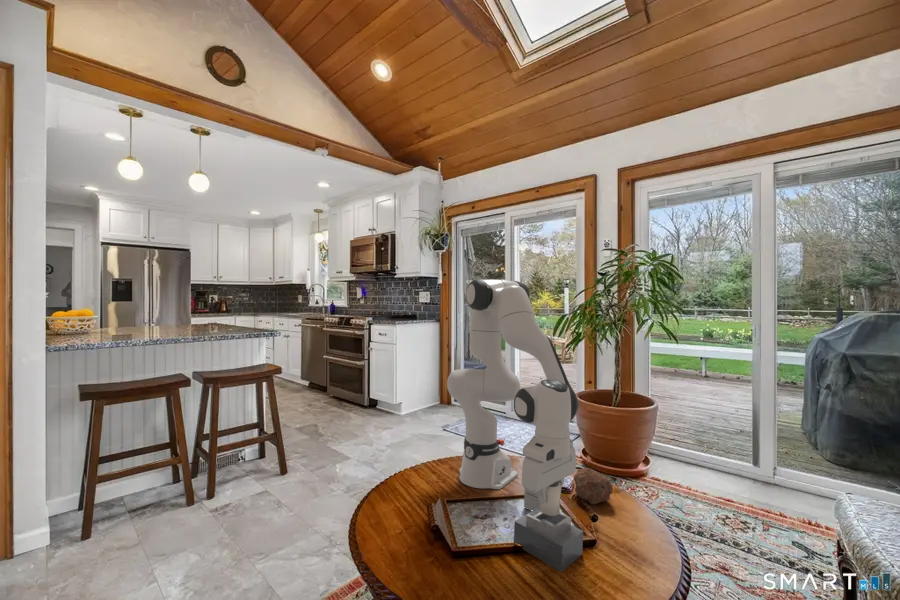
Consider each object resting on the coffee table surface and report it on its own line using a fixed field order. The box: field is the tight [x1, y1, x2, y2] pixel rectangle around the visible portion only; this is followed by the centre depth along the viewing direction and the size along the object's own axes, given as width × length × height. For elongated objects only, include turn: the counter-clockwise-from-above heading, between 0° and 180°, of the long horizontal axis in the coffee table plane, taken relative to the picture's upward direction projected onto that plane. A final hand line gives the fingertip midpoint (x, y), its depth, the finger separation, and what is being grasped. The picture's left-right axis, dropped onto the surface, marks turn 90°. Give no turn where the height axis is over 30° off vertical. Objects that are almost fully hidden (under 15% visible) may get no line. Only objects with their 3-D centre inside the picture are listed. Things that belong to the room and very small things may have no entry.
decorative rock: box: [573, 467, 614, 505], centre depth 129 cm, size 13×11×10 cm
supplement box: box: [523, 488, 540, 510], centre depth 122 cm, size 7×7×13 cm
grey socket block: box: [513, 509, 584, 573], centre depth 103 cm, size 13×14×8 cm
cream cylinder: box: [540, 481, 562, 516], centre depth 102 cm, size 5×5×8 cm
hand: (549, 498), depth 102 cm, fingers closed on cream cylinder, 5 cm apart
